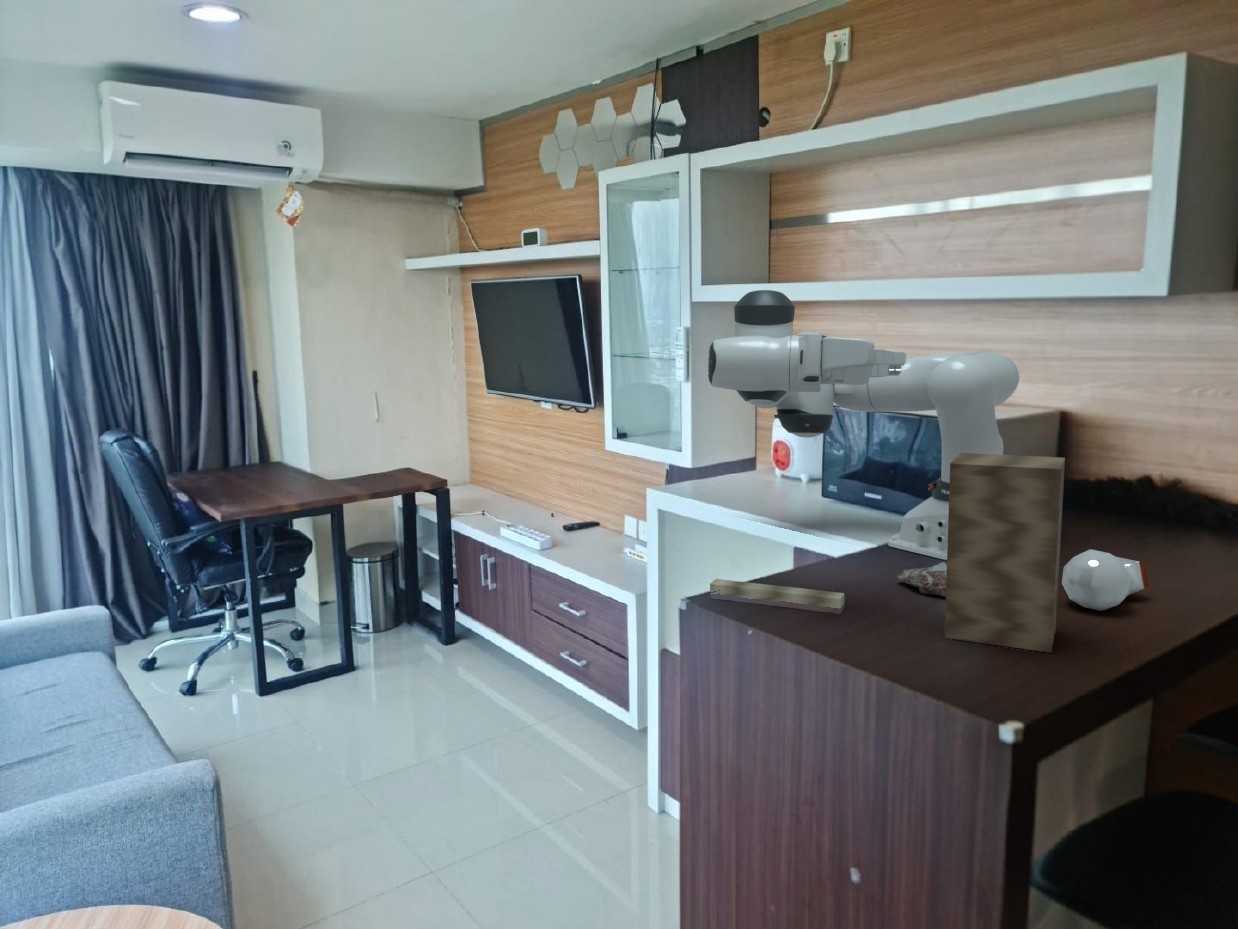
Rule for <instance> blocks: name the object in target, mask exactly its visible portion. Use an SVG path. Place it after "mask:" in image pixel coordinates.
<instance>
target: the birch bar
mask: <svg viewBox="0 0 1238 929" xmlns="http://www.w3.org/2000/svg"><path fill="white" fill-rule="evenodd" d="M726 588H727V589H726ZM718 590H720V591H718ZM713 591H717V592H714V593H711V595H712V594H718V593H720V595H732V596H736V597H742V598H748V599H758V600H769V601H786V602H793V603H799V604H805V605H812V606H819V607H831V608H839V609H840V608H841V607H842V606H843V604H844V605H845V593H844V592H837V591H836V592H835V591H828V590H827V591H826V590H818V589H811V588H810V589H809V588H802V587H792V586H783V585H774V584H764V583H756V582H746V581H739V580H730V579H729V580H728V579H720V578H716V579H714V580H713V581H711V583H709V593H710V592H713Z"/></svg>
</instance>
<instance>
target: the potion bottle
mask: <svg viewBox="0 0 1238 929" xmlns="http://www.w3.org/2000/svg"><path fill="white" fill-rule="evenodd" d="M1145 565H1146V564H1145V563H1144V562H1141V561H1137V560H1134V559H1133V560H1132V559H1128V558H1123V557H1119V556H1116V555H1113V554H1112V553H1110V552H1105V551H1100V550H1097V549H1091V548H1090V549H1087V550H1086V551H1084V552H1081V553H1079V554H1077V555H1075V556H1073V557H1072V558H1071V559H1070V560H1069V561H1067V563H1066V564H1065V565H1064V566H1063V569H1062V570H1063V571H1062V578H1061V585H1062V586H1063V588H1064V590H1065V592H1066V594H1067V596H1068V598H1069V599H1070V600H1071V601H1073V602H1075V603H1076V604H1078V605H1080V606H1082V607H1083V608H1086V609H1091V610H1095V611H1098V612H1099V611H1100V612H1103V611H1106V610H1108V609H1110V608H1111V609H1112V608H1113V607H1117V606H1118V605H1120V604H1121V603H1122V602H1123V601H1124V600H1125V599H1126V598H1127V597H1128V596H1130V595H1133V594H1135V593H1138V592H1141V591H1143V590H1146V589H1148V588H1149V587H1150V586H1149V581H1148V576H1147V572H1146V571H1147V570H1146V566H1145Z"/></svg>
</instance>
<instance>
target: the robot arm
mask: <svg viewBox="0 0 1238 929" xmlns="http://www.w3.org/2000/svg"><path fill="white" fill-rule="evenodd" d="M733 309H734V310H733V312H734V314H733V315H734V316H733V317H734V323H735V324H734V336H732V337H731V336H730V337H724V338H717V339H715V340H713V341H712V342H711V344H710V346H709V349H708V350H709V351H708V367H707V368H708V370H707V371H708V375H707V376H708V381H709V384H710V385H711V386H712V387H714V388H719V389H725V390H733V391H736V392H737V393H738V395H739V396H740V397H741V398H742V399H743V401H745V402H748V403H749V404H751V405H752V406H755V407H758V408H760V409H771V408H776V413H777V414H773V416H774V418H775V419H778V420H779V423H780V425H781V426H782V428H783V429H784V430H785V431H786V432H787V433H789V434H792V435H794V436H796V437H799V438H806V439H807V438H815V437H818V436H820V435H822V434H826V433H827V432H829V430H830V429H831V426H832V424H833V419H834V416H833V410H834V409H833V408H834V405H836V406H838V407H840V408H842V409H847V410H850V411H851V410H852V411H857V412H867V413H873V412H874V413H883V412H884V413H891V412H893V413H895V412H896V413H899V412H900V413H901V412H903V413H904V412H907V413H908V412H925V411H926V412H927V411H935V412H936V416H937V420H938V426H939V431H940V438H941V462H940V463H941V468H940V470H941V471H940V472H941V473H940V475H941V476H940V477H939V478H938V479H937V480H933V481H932V482H931V483H929V484H928V488H927V489H928V491H931V496H929V497H928V498H927V499H925V500H924V501H922V502H920V503H919V504H918V505H917V506H915V507H913V508H912V509H911V510H909V511H907V512H906V513H905V515H903V518H902V521H901V524H900V528H899V532H897V533H895V534H894V535H891V537H889V538H888V541H887V545H888V547H891V548H896V549H899V550H903V551H908V552H911V553H916V554H920V555H925V556H928V557H932V558H936V559H940V560H944V561H947V546H948V515H949V485H950V463H951V462H952V461H953V460H954V459H955V458H956V457H957V456H958V455H959V454H960V453H976V454H997V455H1004V442H1003V438H1002V436H1001V434H1000V432H999V428H998V427H999V426H998V422H997V417H996V407H997V406H999V405H1001V404H1003V403H1004V402H1006V401H1007V400H1008V399H1010V397H1011V396H1012V395H1013V394H1014V393H1015V391H1016V389H1018V386H1019V382H1020V374H1019V369H1018V367H1017V366H1016V363H1014V361H1013V360H1011V358H1009V357H1008V356H1005V355H1003V354H1001V353H999V352H995V351H977V352H975V351H974V352H963V353H948V354H947V353H946V354H945V353H944V354H935V355H934V354H931V355H919V356H907V354H906V352H904V351H890V350H885V349H875V342H874V341H872V340H868V339H864V338H850V337H838V336H834V337H833V336H827V335H823V334H822V333H820V332H814V331H803V332H799V333H797V334H793V331H794V330H793V329H794V322H795V321H794V320H795V311H796V306H795V304H794V303H793V302H792V300H790V298H789V297H788V296H786V294H785V293H783V292H782V291H781V292H780V291H777V290H771V289H759V290H752V291H748V292H747V293H745V294H744V295H743V296H742V297H740V299H739V300H738V301H737V303H736V304H735V305H734V307H733Z"/></svg>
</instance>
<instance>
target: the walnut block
mask: <svg viewBox="0 0 1238 929" xmlns="http://www.w3.org/2000/svg"><path fill="white" fill-rule="evenodd" d="M1065 463H1066V457H1059V456H1040V455H1039V456H1038V455H1017V454H1013V455H1011V454H1003V455H997V454H976V453H960V454H959V455H958V456H957V457H956V458H955V459H954V460H953V461H952V462H951V463H950V485H949V515H948V546H947V560H946V565H947V576H946V597H945V612H944V616H945V617H944V637H945V636H948V637H952V638H962V639H968V640H974V641H979V642H984V643H990V644H999V645H1005V646H1011V647H1015V648H1017V647H1018V648H1023V649H1028V650H1029V649H1030V650H1038V651H1039V650H1040V651H1045V652H1050V653H1051V654H1052V652H1051V651H1053V647H1052V646H1054V640H1055V636H1054V635H1056V630H1057V629H1056V627H1057V608H1058V595H1059V594H1058V593H1059V592H1058V591H1059V576H1060V575H1059V574H1060V559H1061V558H1060V554H1061V541H1062V540H1061V539H1062V538H1061V537H1062V536H1061V535H1062V520H1063V519H1062V518H1063V503H1064V502H1063V501H1064V483H1065V466H1066V464H1065Z"/></svg>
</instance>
